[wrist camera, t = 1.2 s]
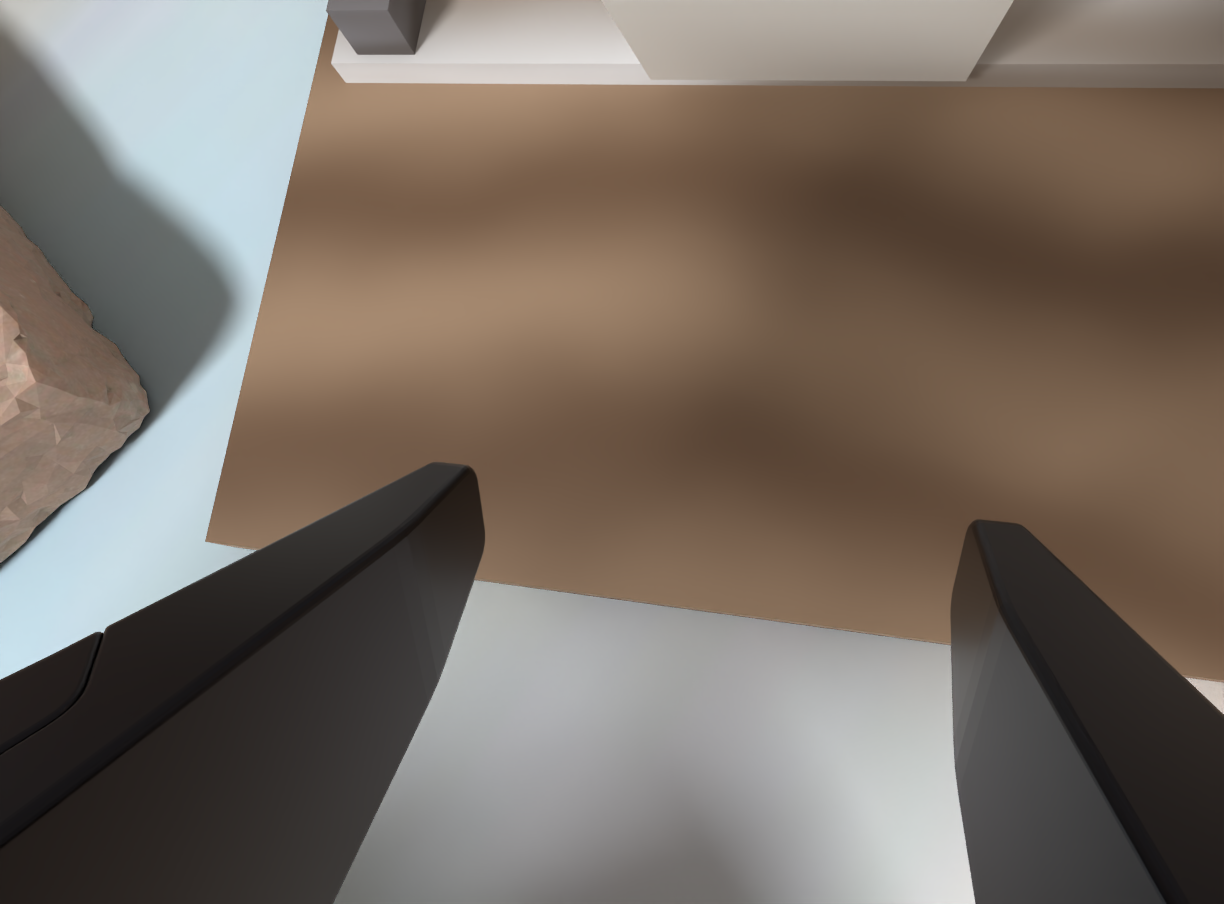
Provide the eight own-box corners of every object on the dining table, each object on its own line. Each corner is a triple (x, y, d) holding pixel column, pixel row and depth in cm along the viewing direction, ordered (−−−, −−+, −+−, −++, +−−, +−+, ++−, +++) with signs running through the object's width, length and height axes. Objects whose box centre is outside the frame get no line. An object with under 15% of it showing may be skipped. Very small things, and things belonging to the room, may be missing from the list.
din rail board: (1433, 711, 16) (1606, 727, 13) (235, 547, 22) (133, 528, 19) (1397, -90, 20) (1526, -244, 16) (371, -57, 25) (307, -168, 22)
